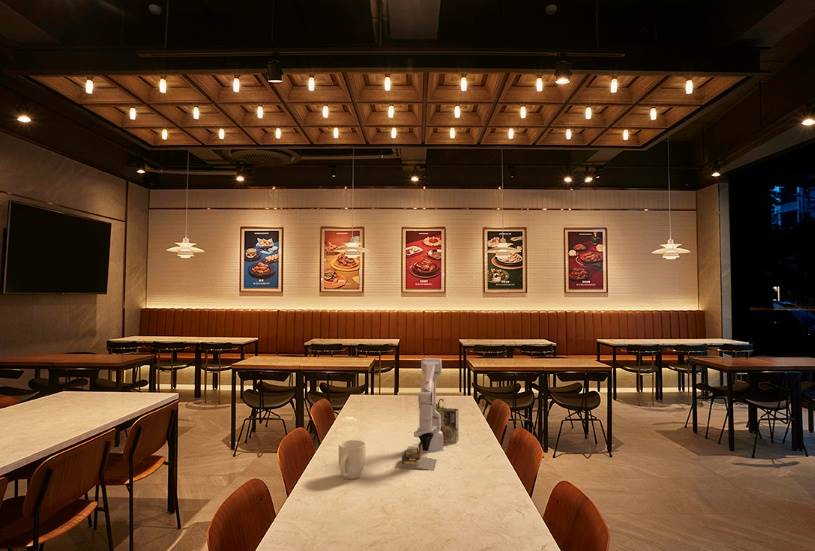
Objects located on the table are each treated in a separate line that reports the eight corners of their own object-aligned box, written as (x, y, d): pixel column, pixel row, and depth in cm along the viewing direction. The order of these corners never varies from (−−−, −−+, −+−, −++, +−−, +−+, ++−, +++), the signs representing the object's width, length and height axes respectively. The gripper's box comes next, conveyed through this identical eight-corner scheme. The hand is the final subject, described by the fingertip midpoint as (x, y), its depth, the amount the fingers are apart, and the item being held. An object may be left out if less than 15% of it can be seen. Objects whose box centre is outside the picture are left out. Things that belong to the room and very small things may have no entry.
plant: (454, 421, 273) (454, 402, 273) (422, 420, 274) (423, 401, 275) (453, 413, 293) (453, 395, 293) (423, 412, 294) (424, 395, 295)
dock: (436, 459, 203) (436, 449, 203) (433, 471, 189) (434, 460, 190) (404, 457, 205) (404, 447, 206) (399, 468, 192) (399, 458, 192)
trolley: (421, 456, 200) (421, 441, 200) (420, 461, 195) (420, 445, 195) (407, 455, 201) (407, 440, 201) (405, 460, 196) (405, 444, 196)
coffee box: (458, 440, 233) (459, 408, 234) (456, 443, 227) (456, 411, 228) (442, 438, 236) (442, 407, 237) (438, 441, 230) (439, 409, 231)
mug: (354, 487, 172) (355, 452, 173) (328, 483, 175) (329, 449, 176) (369, 473, 186) (369, 441, 187) (345, 470, 189) (345, 438, 190)
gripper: (428, 414, 206) (428, 444, 205) (408, 420, 195) (408, 452, 194) (440, 417, 202) (440, 447, 201) (421, 423, 191) (421, 455, 190)
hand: (425, 450), depth 197 cm, fingers closed
